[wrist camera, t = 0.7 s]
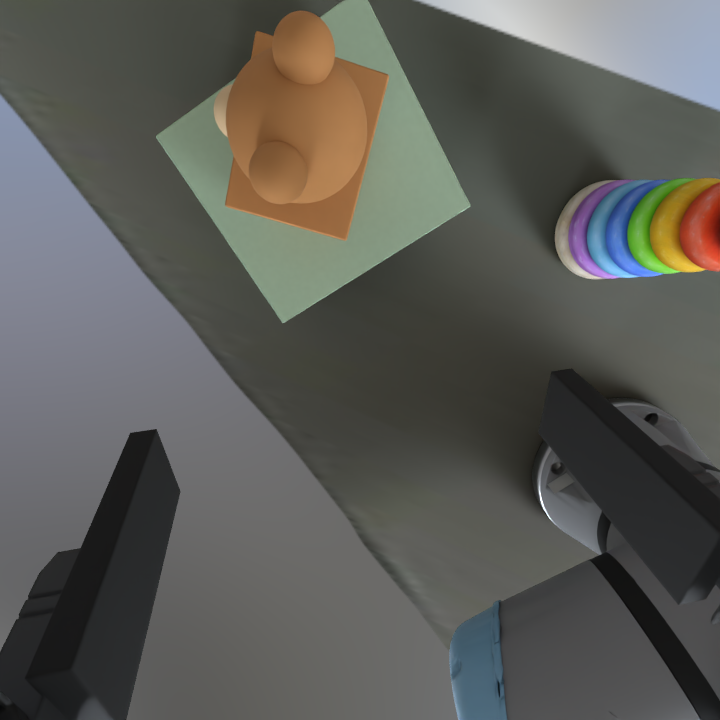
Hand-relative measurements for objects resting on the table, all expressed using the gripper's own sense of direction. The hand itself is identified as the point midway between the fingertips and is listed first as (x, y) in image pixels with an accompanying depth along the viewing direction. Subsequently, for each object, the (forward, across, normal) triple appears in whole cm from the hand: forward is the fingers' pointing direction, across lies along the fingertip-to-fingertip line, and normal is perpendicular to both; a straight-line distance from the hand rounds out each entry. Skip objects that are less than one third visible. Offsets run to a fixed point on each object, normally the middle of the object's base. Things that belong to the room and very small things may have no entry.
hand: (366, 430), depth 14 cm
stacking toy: (+22, -24, +1) cm, 33 cm away
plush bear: (+17, 0, -6) cm, 18 cm away
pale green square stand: (+26, -2, -4) cm, 27 cm away
